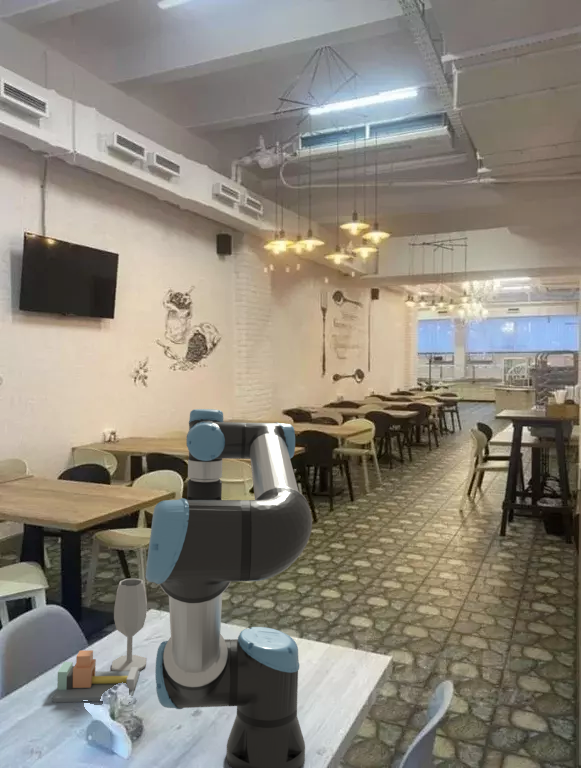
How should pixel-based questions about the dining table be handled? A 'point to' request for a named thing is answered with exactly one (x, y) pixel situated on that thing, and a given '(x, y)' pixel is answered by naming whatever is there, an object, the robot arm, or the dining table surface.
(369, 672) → the dining table surface
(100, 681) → the linear slide rail
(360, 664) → the dining table surface
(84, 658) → the sleeve
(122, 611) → the wineglass
